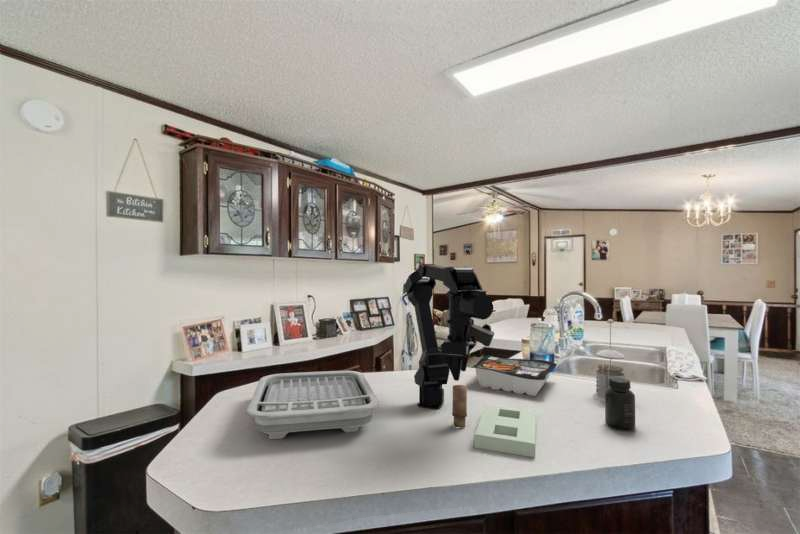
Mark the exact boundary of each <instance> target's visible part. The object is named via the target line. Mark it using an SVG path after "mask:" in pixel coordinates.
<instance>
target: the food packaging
mask: <svg viewBox="0 0 800 534" xmlns="http://www.w3.org/2000/svg"><path fill="white" fill-rule="evenodd" d="M557 365H558V364H557V363H555V362H552V361H547V360H541V359H532V358H531V359H529V358H523V359H522V358H506V357H499V356H498V357H497V356H494V355H490V354H488V355H487V354H486V355H484V356H483V357H482V358H480V359H479V361H477V363H476V364H475V365H473V366H471V367H469V369H475V375H476V378H477V379H476V380H477V381H478V383H479V386H480V387H481V388H486V387H487V388H490V389H492V390H495V389H496V390H495V391H499V390H502V391H504V392H512V391H513V392H514V393H515V394H518V395H523V394H524V393H525V394H526V395H528V396H533V397H535V396H537V394H538V393H539V392H540V391H541V389H542V388H543V387H544V385H545V384H546V383H547V380H548V379H549V377H550V373H551V372H553V370H554V369H555V368H557Z"/></svg>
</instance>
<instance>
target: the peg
mask: <svg viewBox="0 0 800 534" xmlns="http://www.w3.org/2000/svg"><path fill="white" fill-rule="evenodd" d="M467 389H468V387H467V386H466V385H462V384H455V385H453V386H452V412H451V416H453V427H454V426H455V427H454V428H456V427H460V428H459V429H462V428H461V427H465V428H466V417H468V413H467V406H468V404H467V402H468V401H467V400H468V399H467V397H468V396H467V395H468V394H467V393H468V391H467Z"/></svg>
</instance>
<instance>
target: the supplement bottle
mask: <svg viewBox="0 0 800 534" xmlns="http://www.w3.org/2000/svg"><path fill="white" fill-rule="evenodd" d="M609 386H610V388H608V389H606V391H605V402H604V417H605V419H604V421H605V424H606V426H608V427H610V428H611V429H614V430H618V431H626V432H627V431H629V432H630V431H633V430H634V429H635V428H636V395H635V393H634V392H633V391H632V390H631V380H630V379H627V378H625V379H624V378H609Z"/></svg>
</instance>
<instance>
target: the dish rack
mask: <svg viewBox="0 0 800 534" xmlns="http://www.w3.org/2000/svg"><path fill="white" fill-rule="evenodd" d="M379 404H380V399H379V397H378V396H377V394H375V392H374V391H373V389H372V387H371V386H370V384H369V383H368V380H367V379H366V377H365V375H364V374H363V373H362V372H359V371H355V370H329V371H327V370H326V371H325V370H324V371H308V372H307V371H306V372H305V371H304V372H285V373H284V372H282V373H274V374H269V375H265V376H262V377H261V378H260V379H259V381H258V383H257V386H256V388H255V391H254V392H253V395H252V398H251V401H250V402H249V403H248V406H247V408H246V413H247V415H249V416H250V417H253V418H254V429H255V430H256V431H258V432H261V433H264V434H267V435H268V439H269V440H278V439H279V440H280V439H284V437H286V435H287V434H288V433H297V432H306V431H308V432H309V431H319V430H333V429H341V430H342V431H343V432H345V433H355V432H358V431H359V428H360V427H362V426H364V425H366V424H368V423H369V422H371V420H372V418H373V415H372V413H373V409H374V408H376V407H377V406H379Z"/></svg>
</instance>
